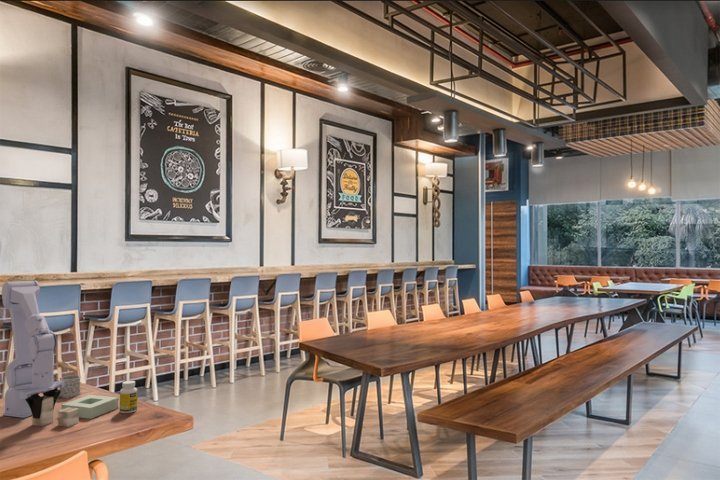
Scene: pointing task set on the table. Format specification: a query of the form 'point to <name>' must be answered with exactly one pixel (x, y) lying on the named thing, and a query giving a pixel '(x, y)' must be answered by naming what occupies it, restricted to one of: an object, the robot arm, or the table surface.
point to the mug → (70, 386)
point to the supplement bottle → (128, 397)
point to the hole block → (93, 405)
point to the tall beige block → (45, 412)
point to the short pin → (68, 417)
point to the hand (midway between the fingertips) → (42, 415)
